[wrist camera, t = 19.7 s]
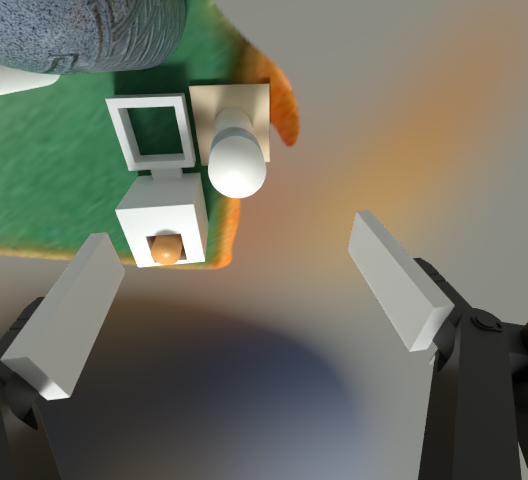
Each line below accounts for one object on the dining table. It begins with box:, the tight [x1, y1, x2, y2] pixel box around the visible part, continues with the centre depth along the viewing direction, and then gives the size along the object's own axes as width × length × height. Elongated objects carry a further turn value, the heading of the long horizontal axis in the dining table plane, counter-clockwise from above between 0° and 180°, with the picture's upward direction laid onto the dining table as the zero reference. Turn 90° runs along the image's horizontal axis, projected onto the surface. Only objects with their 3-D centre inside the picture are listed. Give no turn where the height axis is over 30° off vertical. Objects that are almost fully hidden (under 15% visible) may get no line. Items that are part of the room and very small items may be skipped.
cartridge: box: [208, 107, 266, 198], centre depth 29 cm, size 5×5×16 cm
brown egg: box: [151, 234, 183, 265], centre depth 36 cm, size 4×4×6 cm
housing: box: [105, 93, 208, 267], centre depth 34 cm, size 20×9×10 cm, turn 1°
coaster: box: [189, 83, 270, 166], centre depth 36 cm, size 10×10×1 cm
